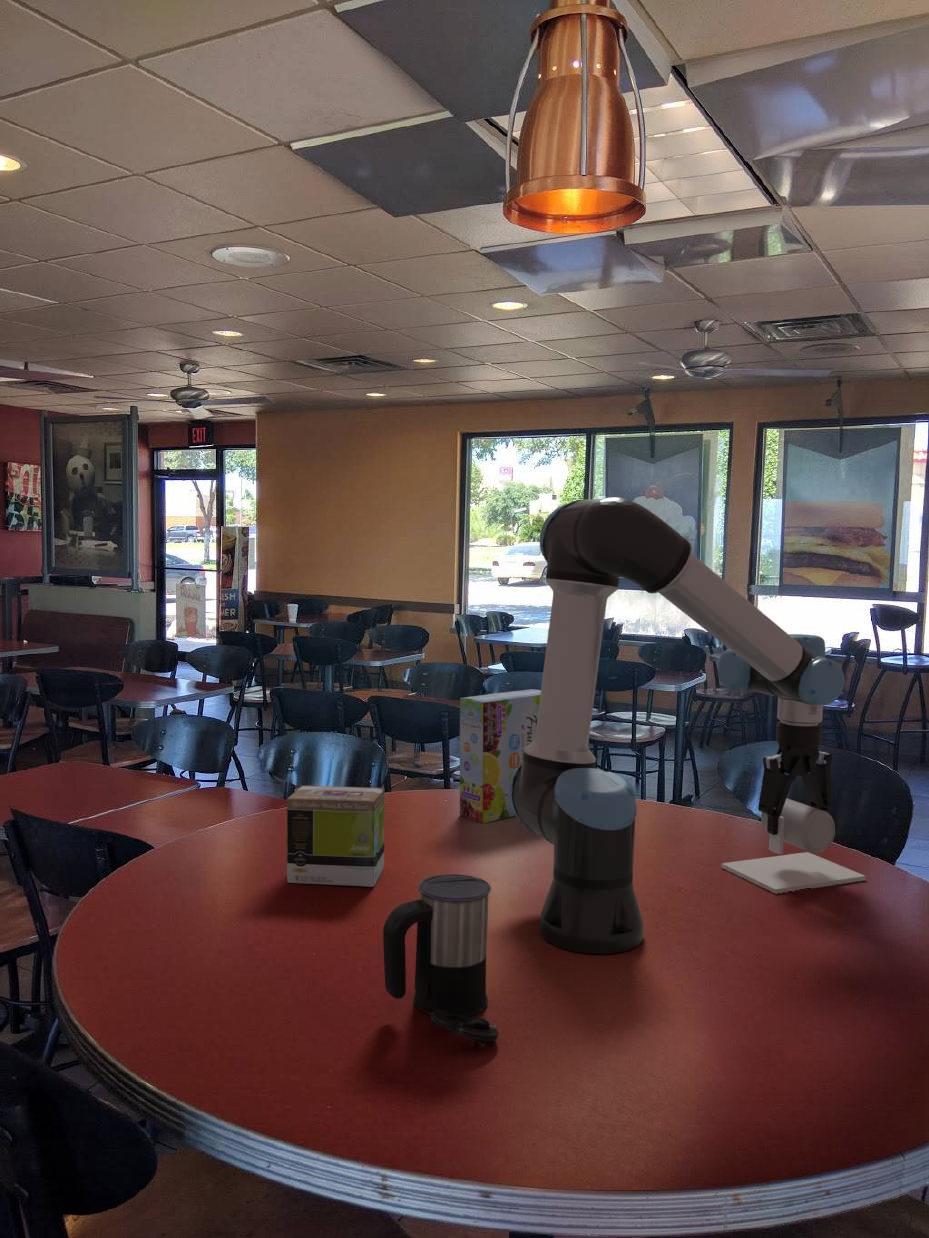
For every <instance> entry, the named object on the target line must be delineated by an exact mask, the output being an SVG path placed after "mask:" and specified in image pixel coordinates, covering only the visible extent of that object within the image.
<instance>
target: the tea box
mask: <svg viewBox="0 0 929 1238" xmlns="http://www.w3.org/2000/svg"><path fill="white" fill-rule="evenodd" d="M384 866H385V788H383V787H362V786H361V787H358V786H332V785H330V786H329V785H324V786H323V785H301V786H300V787H299V788H298V789H296V791H294V792H293V793H292V794H291V795H290V796H289V797H287V798H286V878H287V880H286V882H287V883H289V884H290V883H291V884H306V885H308V884H309V885H310V884H311V885H324V886H325V885H329V886H350V887H367V888H368V887H370V888H374V887H375V885H376V884H377V882H378V880H379V878H380V876H381V874H383V871H384Z"/></svg>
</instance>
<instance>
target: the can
mask: <svg viewBox="0 0 929 1238" xmlns="http://www.w3.org/2000/svg"><path fill="white" fill-rule="evenodd" d="M774 809H775V808H774ZM780 816H782V817H784V839H783V843H787V844H789V845H792V846H794V847H797V848H799V849H802V850H805V851H806V852H809V853H811V854H819V853H821V852H824V851H826V850H827V848H828V847H830V846H831V844H832V843H833V841H834V839H835V836H836V827H835V821H834V819H833V817H832V815H831V814H830V813H829V812H825V811H822V810H819V809H817V808H814V807H811V806H810V805H807V804H804V803H802V802H798V801H796V800H793V799H790V798H788V797H787V798H786V801H785V804H784V807H783V810H782V812H781V815H780ZM760 822H761V824H762V827H763V828H764V830H765V831H766V832H767V834H768V835H769V834H770V833H768V831H767V825H768V824H767V822H768V816H767V814H766V813H763V812H761V816H760Z"/></svg>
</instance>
